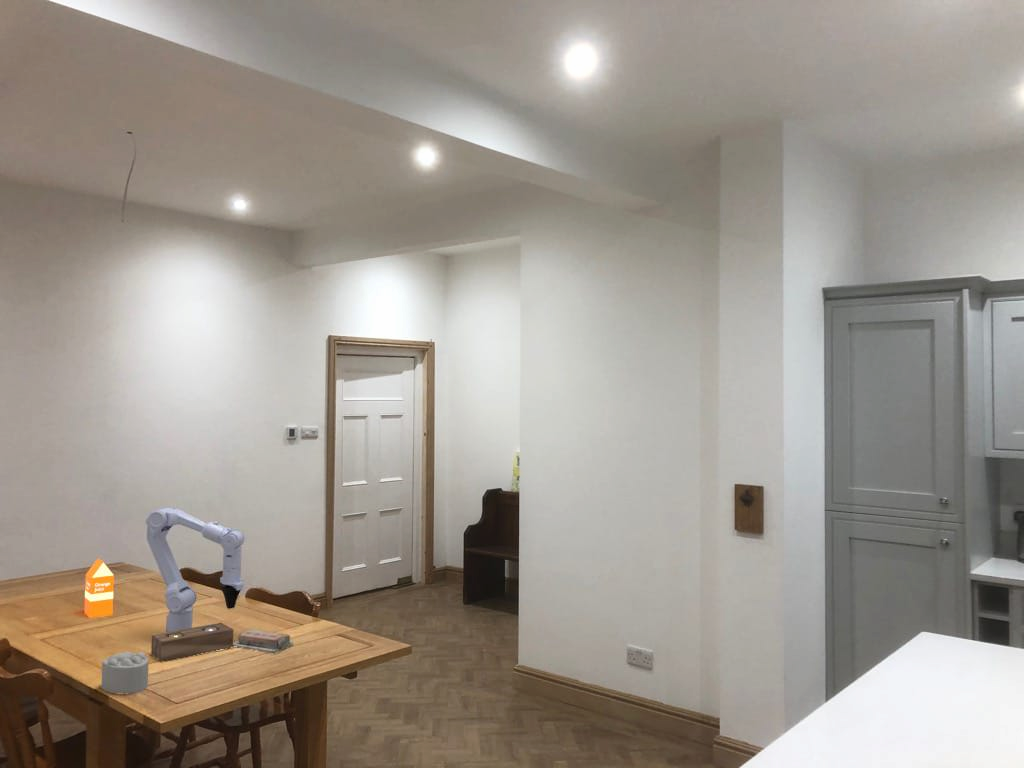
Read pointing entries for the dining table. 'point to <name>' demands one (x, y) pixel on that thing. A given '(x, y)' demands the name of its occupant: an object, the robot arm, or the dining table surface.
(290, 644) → the packaged product
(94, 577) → the orange juice
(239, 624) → the dining table surface
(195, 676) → the dining table surface
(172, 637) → the brass peg
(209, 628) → the grey metal peg
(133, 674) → the lumpy-topped squat cylinder
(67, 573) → the dining table surface
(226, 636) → the walnut block
